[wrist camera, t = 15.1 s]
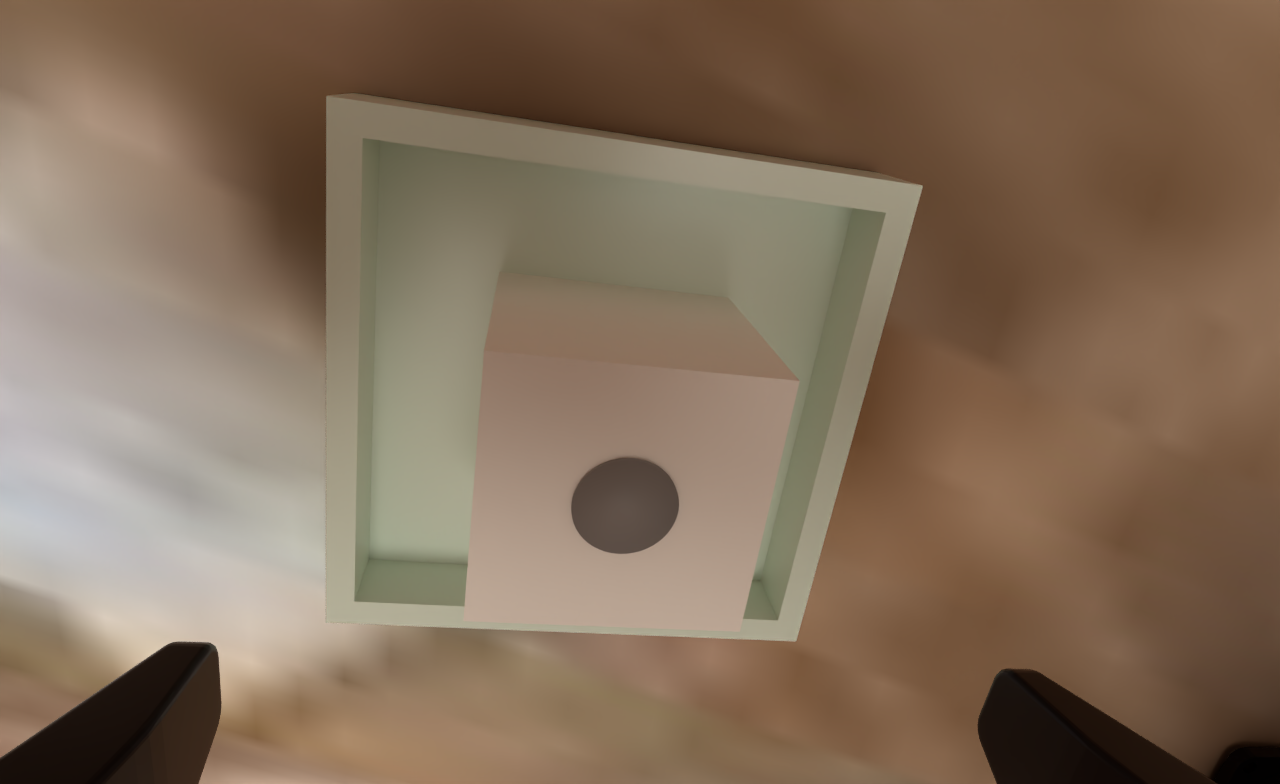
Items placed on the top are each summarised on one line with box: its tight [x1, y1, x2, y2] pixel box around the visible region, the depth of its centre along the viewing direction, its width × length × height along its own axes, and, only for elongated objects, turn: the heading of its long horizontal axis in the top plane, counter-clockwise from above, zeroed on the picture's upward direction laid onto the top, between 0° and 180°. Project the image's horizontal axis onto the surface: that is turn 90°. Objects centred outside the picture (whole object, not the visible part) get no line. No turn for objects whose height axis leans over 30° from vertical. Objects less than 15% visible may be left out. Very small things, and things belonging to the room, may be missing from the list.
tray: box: [326, 93, 923, 641], centre depth 17 cm, size 11×11×2 cm
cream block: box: [463, 272, 800, 632], centre depth 15 cm, size 5×5×5 cm
